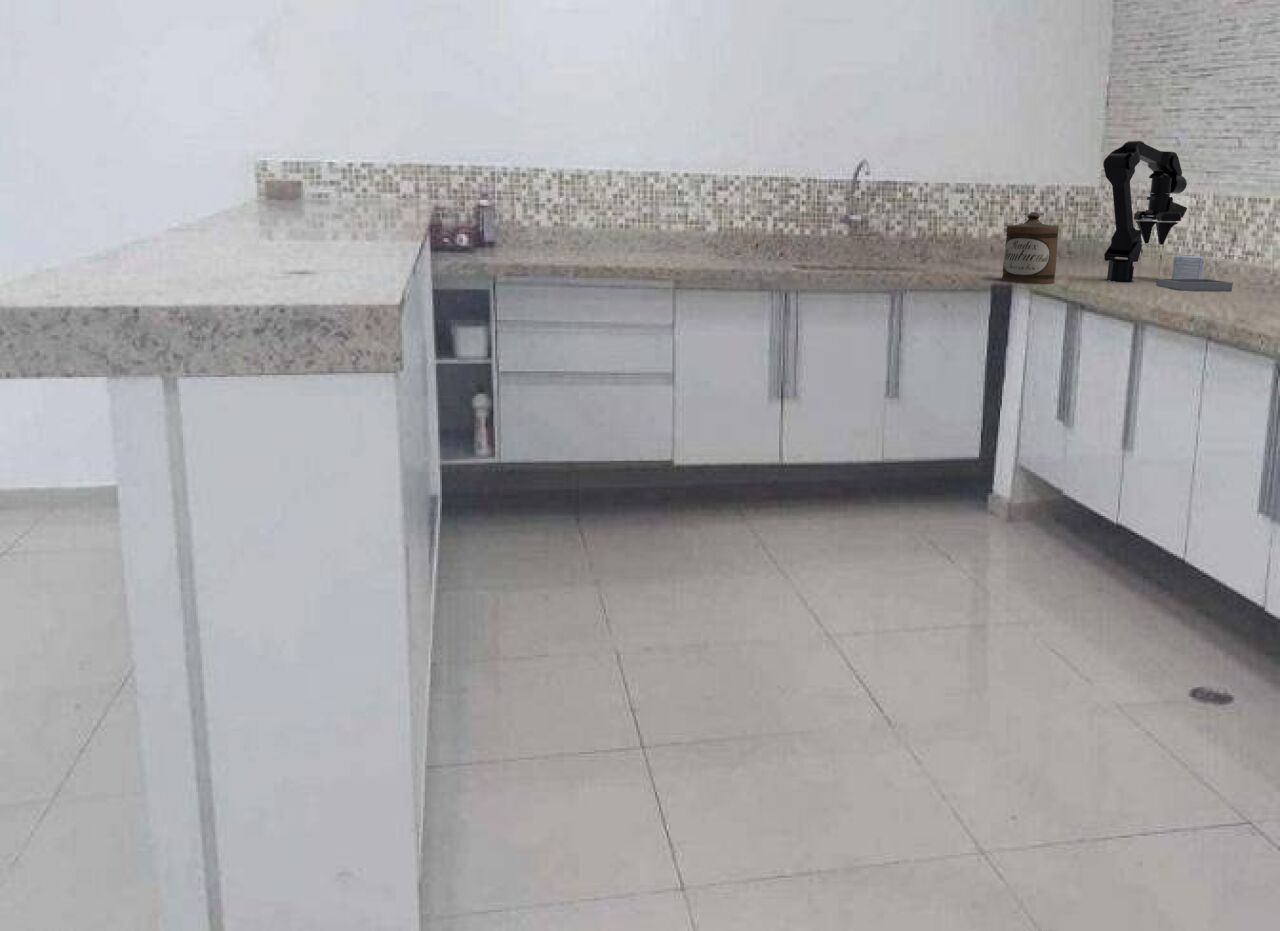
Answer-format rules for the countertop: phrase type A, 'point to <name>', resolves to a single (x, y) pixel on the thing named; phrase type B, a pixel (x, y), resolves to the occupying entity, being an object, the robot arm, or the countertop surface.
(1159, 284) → the tray
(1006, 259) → the wooden container
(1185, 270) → the medicine box
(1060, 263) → the countertop surface
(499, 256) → the countertop surface
